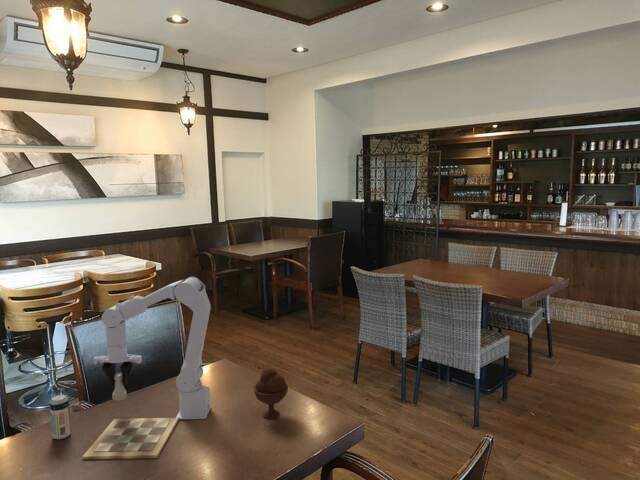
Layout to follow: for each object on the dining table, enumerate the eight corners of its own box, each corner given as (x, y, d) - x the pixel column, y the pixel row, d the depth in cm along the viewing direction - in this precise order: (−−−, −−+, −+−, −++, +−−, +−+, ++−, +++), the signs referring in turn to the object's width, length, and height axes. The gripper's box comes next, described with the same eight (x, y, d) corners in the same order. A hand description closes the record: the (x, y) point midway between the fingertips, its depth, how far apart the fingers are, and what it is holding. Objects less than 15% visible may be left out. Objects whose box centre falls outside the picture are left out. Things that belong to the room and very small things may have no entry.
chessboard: (178, 420, 142) (178, 417, 142) (157, 457, 123) (157, 454, 122) (114, 421, 142) (114, 418, 142) (82, 459, 122) (82, 455, 122)
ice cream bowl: (247, 420, 142) (246, 374, 140) (265, 404, 152) (264, 361, 150) (278, 426, 138) (277, 379, 136) (293, 410, 148) (293, 366, 146)
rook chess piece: (130, 395, 148) (129, 372, 147) (120, 402, 143) (119, 377, 142) (118, 393, 149) (117, 370, 148) (108, 399, 145) (108, 375, 144)
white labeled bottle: (74, 432, 136) (71, 393, 135) (64, 440, 131) (61, 401, 130) (59, 431, 136) (56, 393, 135) (48, 440, 132) (45, 400, 130)
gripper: (144, 339, 148) (146, 378, 150) (99, 339, 148) (102, 379, 149) (136, 346, 141) (138, 388, 143) (89, 347, 141) (92, 389, 142)
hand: (119, 384), depth 145 cm, fingers closed on rook chess piece, 3 cm apart
